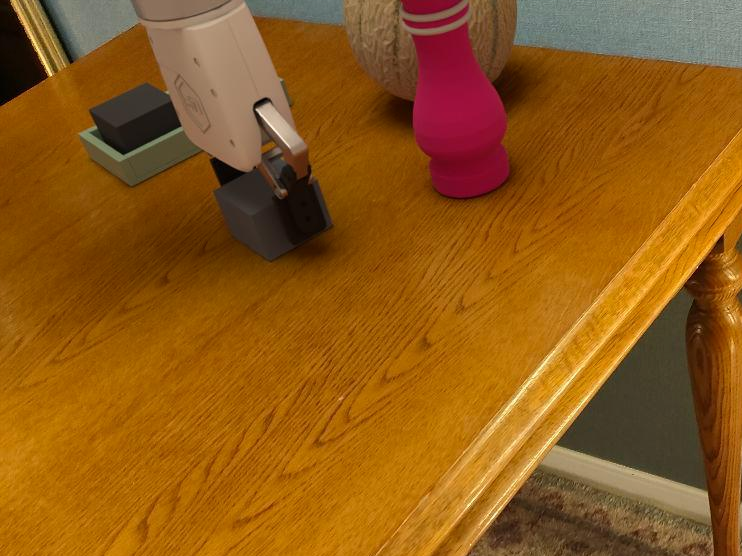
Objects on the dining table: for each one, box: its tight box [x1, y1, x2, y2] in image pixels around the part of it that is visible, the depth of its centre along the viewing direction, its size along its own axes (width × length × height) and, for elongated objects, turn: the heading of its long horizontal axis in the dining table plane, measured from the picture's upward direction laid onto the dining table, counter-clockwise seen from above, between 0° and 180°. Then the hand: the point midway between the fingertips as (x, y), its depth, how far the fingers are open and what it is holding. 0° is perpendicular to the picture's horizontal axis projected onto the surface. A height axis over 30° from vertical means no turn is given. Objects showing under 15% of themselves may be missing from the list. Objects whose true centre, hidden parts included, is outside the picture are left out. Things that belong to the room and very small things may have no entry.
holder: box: [77, 76, 293, 188], centre depth 93 cm, size 17×9×2 cm, turn 132°
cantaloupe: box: [342, 0, 518, 103], centre depth 85 cm, size 15×15×15 cm
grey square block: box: [212, 158, 334, 262], centre depth 78 cm, size 6×6×4 cm
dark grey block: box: [88, 82, 182, 156], centre depth 90 cm, size 6×6×4 cm
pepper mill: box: [399, 0, 511, 199], centre depth 73 cm, size 7×7×20 cm
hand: (276, 216), depth 78 cm, fingers open, 9 cm apart
